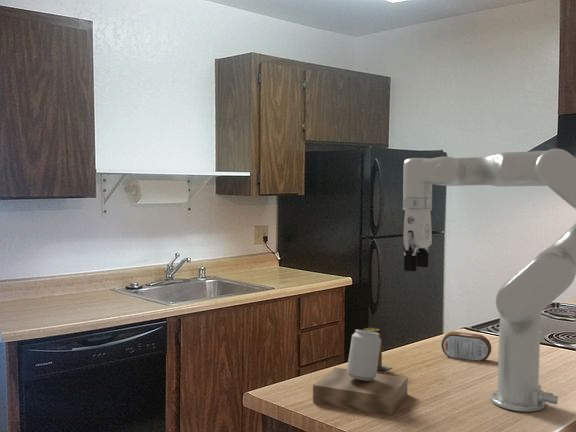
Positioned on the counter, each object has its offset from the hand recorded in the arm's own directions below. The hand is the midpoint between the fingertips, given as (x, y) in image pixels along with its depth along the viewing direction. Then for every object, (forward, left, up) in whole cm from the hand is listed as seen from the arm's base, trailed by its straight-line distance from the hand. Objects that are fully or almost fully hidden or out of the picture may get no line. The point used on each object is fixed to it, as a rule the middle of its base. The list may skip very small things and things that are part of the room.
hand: (416, 268), depth 160 cm
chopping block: (+9, +15, -33) cm, 37 cm away
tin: (-5, -34, -33) cm, 47 cm away
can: (+9, +15, -27) cm, 32 cm away
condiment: (+16, -10, -32) cm, 38 cm away
